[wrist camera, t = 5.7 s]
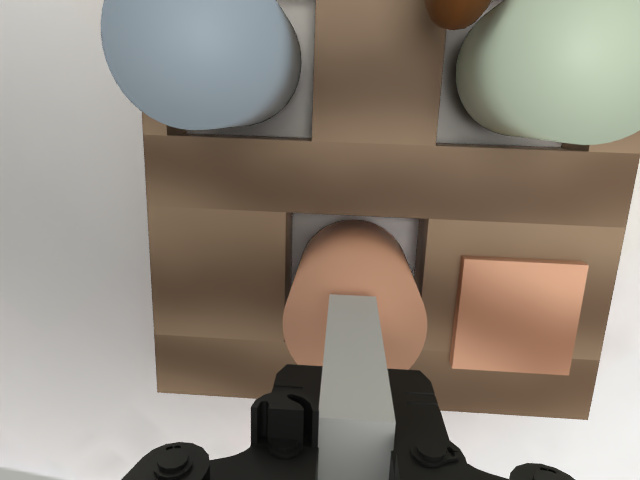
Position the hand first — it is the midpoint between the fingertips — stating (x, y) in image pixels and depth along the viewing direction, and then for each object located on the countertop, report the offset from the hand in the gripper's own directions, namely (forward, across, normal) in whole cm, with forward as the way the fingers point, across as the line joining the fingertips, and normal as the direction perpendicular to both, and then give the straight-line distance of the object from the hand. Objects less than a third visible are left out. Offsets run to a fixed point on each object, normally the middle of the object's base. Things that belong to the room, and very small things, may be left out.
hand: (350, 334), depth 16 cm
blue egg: (+6, -5, +9) cm, 11 cm away
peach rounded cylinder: (+7, 0, 0) cm, 7 cm away
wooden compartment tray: (+8, +1, +4) cm, 9 cm away
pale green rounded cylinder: (+6, +6, +9) cm, 12 cm away
